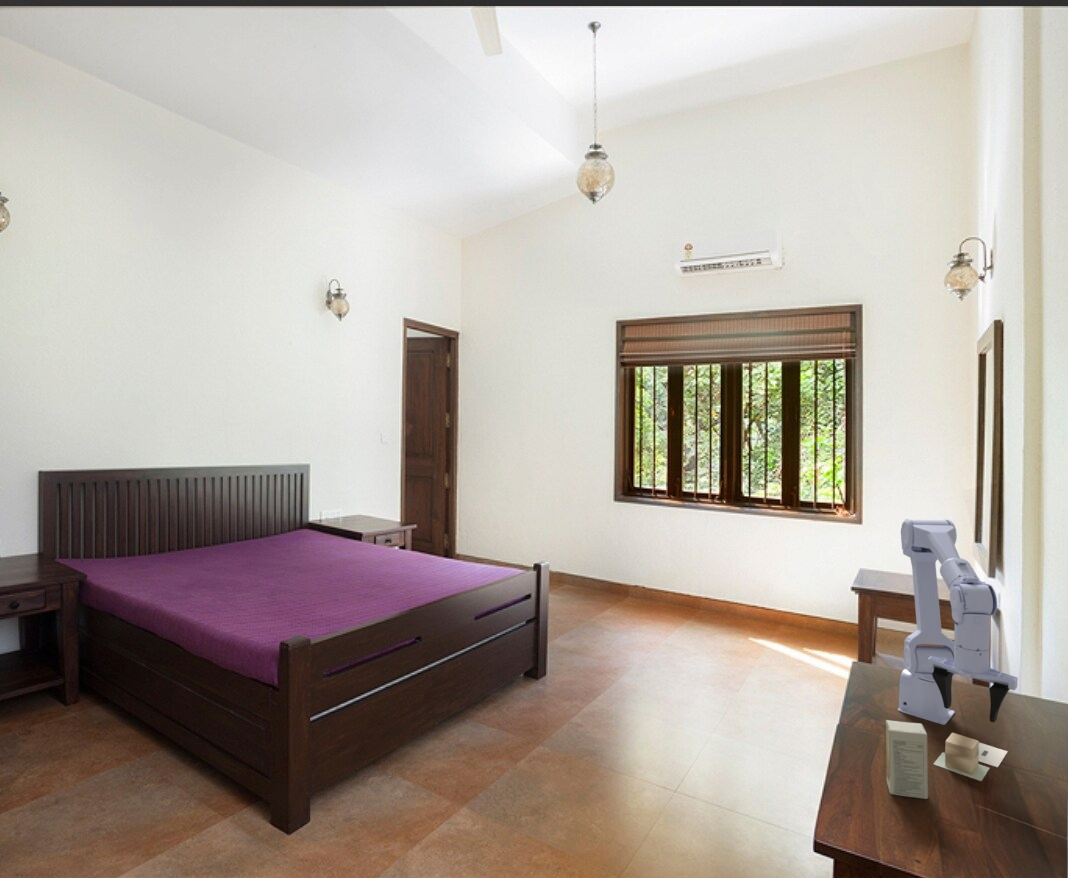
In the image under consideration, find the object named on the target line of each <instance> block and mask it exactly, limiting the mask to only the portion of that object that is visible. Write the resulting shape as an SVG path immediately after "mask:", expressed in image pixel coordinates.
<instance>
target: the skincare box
mask: <svg viewBox="0 0 1068 878" xmlns="http://www.w3.org/2000/svg"><path fill="white" fill-rule="evenodd" d="M885 743H886V744H885V745H886V749H885V750H886V751H885V752H886V755H885V756H886V757H885V758H886V762H885V763H886V767H885V769H886V784H887V787H888V792H889V794H890V795H894V796H895V795H896V796H900V797H901V796H902V797H907V798H908V797H909V798H917V799H923V800H924V799H925V800H927V799H928V798H929V792H928V791H929V785H928V784H929V782H928V781H929V779H928V778H929V777H928V734H927V731H926V728H925V726H924V725H923V723H919V722H913V721H912V722H911V721H910V722H909V721H900V720H890V719H886V720H885ZM928 800H929V799H928Z"/></svg>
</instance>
